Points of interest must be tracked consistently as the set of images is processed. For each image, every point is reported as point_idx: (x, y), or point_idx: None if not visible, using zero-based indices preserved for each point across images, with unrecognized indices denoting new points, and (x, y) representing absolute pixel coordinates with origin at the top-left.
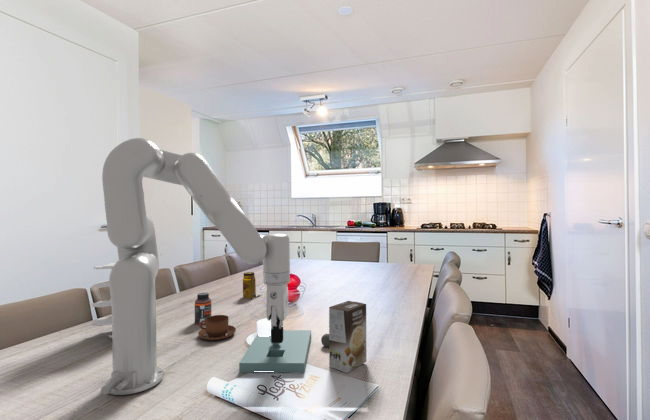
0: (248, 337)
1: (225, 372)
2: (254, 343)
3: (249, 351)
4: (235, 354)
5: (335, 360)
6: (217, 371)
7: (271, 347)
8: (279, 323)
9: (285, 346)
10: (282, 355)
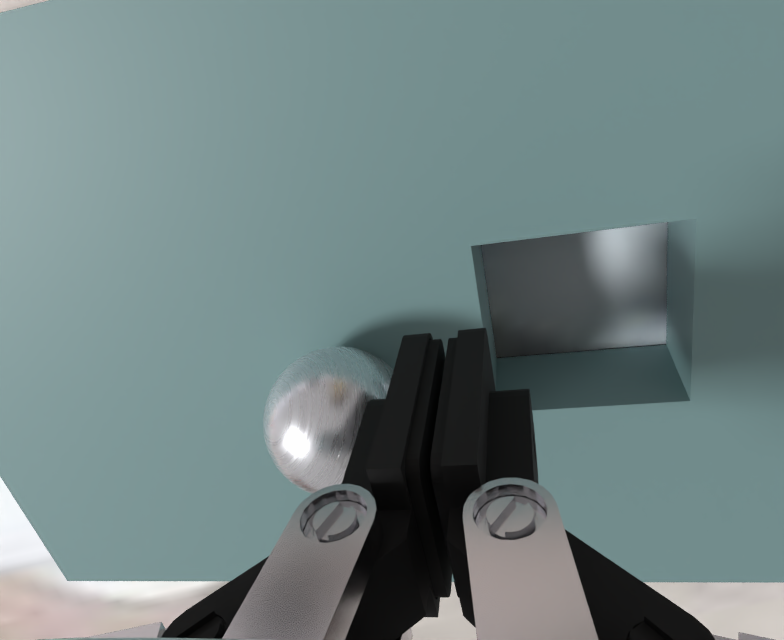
0: (135, 592)
1: (781, 591)
2: None
3: None
4: (450, 601)
5: None
6: (757, 635)
7: None
8: (589, 619)
9: (365, 269)
10: (477, 250)
